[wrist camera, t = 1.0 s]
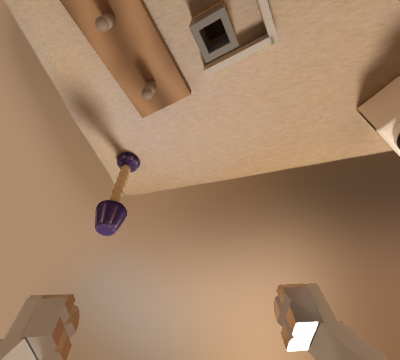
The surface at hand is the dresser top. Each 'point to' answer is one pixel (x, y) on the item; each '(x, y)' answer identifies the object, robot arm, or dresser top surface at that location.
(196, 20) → the sleeve
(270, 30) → the tray
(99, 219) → the toy lamp
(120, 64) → the pin board
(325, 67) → the dresser top surface
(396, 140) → the medicine bottle
